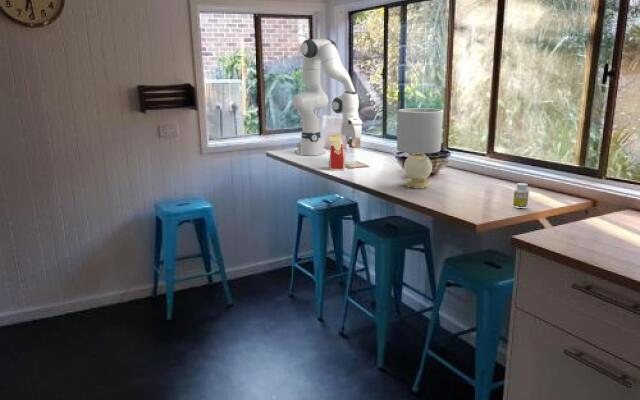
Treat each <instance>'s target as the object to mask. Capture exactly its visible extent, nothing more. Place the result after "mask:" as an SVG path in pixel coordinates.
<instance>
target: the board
mask: <svg viewBox="0 0 640 400" xmlns="http://www.w3.org/2000/svg"><path fill="white" fill-rule="evenodd" d="M369 167H370V165H367V164H365V163H363V162H360V161H358V160H353V161H345V168H346V169H351V170H352V169H361V168H369Z"/></svg>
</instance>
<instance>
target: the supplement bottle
mask: <svg viewBox="0 0 640 400" xmlns="http://www.w3.org/2000/svg"><path fill="white" fill-rule="evenodd" d="M528 185H529V184H528V183H526V182H525V183H524V182H517V183H516V188H515V189H514V192H513V202H512V203H513V204H512V206H513V205H514V206H518V207H526V206H527V207H528V205H529V204H528V203H529V196H530V195H529V193H530V191H529V189H528Z"/></svg>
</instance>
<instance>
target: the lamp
mask: <svg viewBox="0 0 640 400" xmlns="http://www.w3.org/2000/svg"><path fill="white" fill-rule="evenodd" d="M443 116H444V111H443V110H442V109H437V108H428V107H427V108H425V107H424V108H423V107H421V108H419V107H418V108H417V107H416V108H415V107H414V108H400V109H398V110H397V124H396V125H397V127H396V128H397V131H396V132H397V134H396V135H397V136H396V150H397V151H398V152H403V153H408V154H410V155H409V156H408V157H407V158H406V159H405V161H404V165H403V170H404V174H405V176H407V177H408V178H406V179H405V187H407V186H409V187H417V188H416V189H423V188H422V187H427V186H430V180H429V179H427V178H428V177H429V176H430V175H431V173H432V170H433V164H432V161H431V159H430V158H429V157H428V156H427V155H426V154H432V153H433V154H434V153H438V152H440V151H441V150H442V149H441V148H442V134H443V132H442V131H443ZM409 187H408V188H409ZM427 188H428V187H427Z"/></svg>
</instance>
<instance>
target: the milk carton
mask: <svg viewBox="0 0 640 400" xmlns="http://www.w3.org/2000/svg"><path fill="white" fill-rule="evenodd" d="M328 137H329V140H330V151H329V152H330V153H329V162H328V170H330V171H345V169H346V167H345V162H346V155H345V148H344V143H343V140H342V134H341V132H339V133H336V134H332V135H331V134H330V135H328Z"/></svg>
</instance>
